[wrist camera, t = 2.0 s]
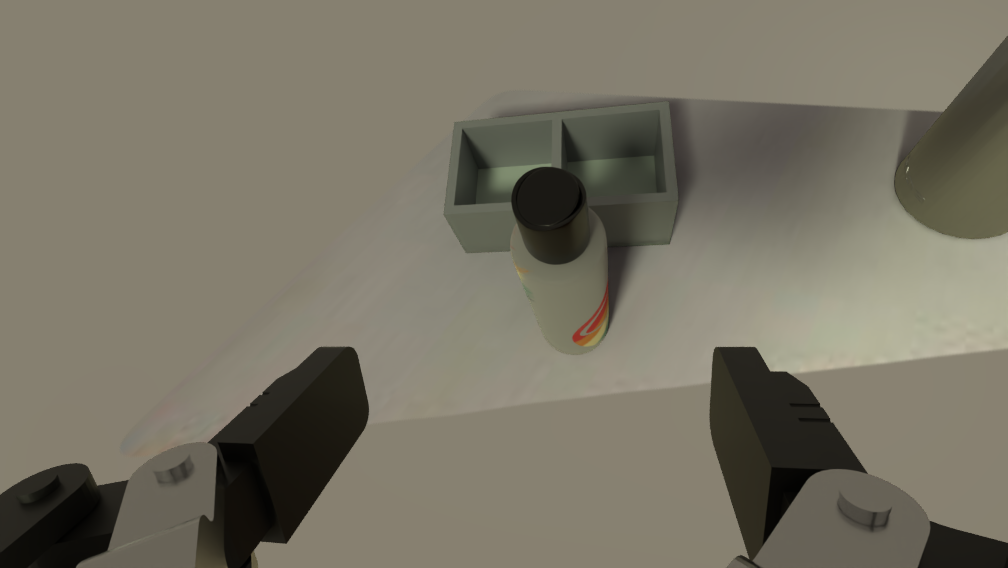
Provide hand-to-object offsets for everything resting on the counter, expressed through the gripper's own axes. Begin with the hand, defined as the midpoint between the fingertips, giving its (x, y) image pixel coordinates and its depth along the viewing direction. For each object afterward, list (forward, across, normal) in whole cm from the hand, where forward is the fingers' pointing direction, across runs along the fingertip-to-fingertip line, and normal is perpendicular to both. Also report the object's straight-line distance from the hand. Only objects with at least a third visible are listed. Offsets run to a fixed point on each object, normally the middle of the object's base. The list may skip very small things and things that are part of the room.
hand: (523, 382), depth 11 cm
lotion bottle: (+29, +1, +13) cm, 32 cm away
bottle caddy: (+38, +2, +4) cm, 38 cm away
